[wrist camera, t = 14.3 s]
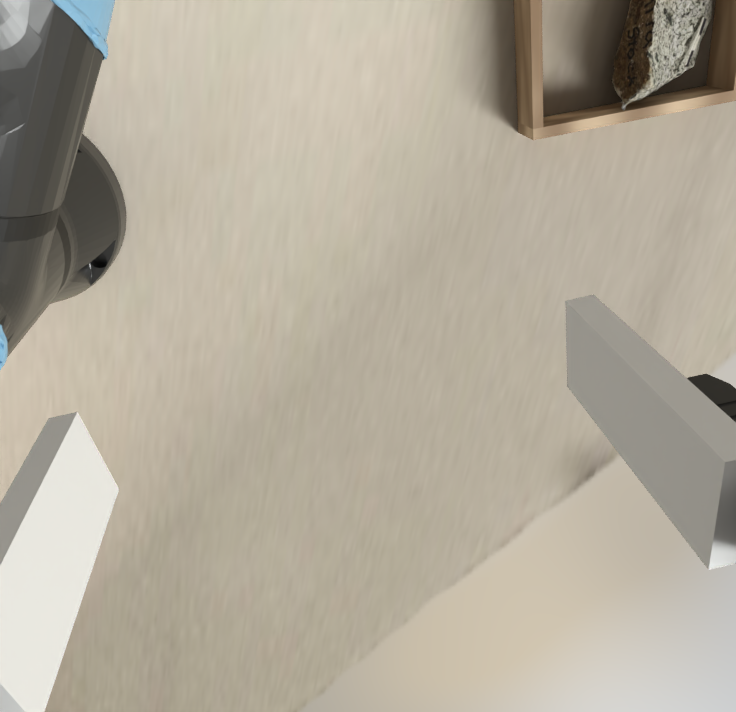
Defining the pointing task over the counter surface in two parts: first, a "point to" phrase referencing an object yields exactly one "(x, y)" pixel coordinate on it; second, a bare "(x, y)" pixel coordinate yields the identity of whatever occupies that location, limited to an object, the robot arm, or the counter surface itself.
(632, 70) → the rock sample
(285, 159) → the counter surface
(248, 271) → the counter surface
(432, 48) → the counter surface
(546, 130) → the tray
